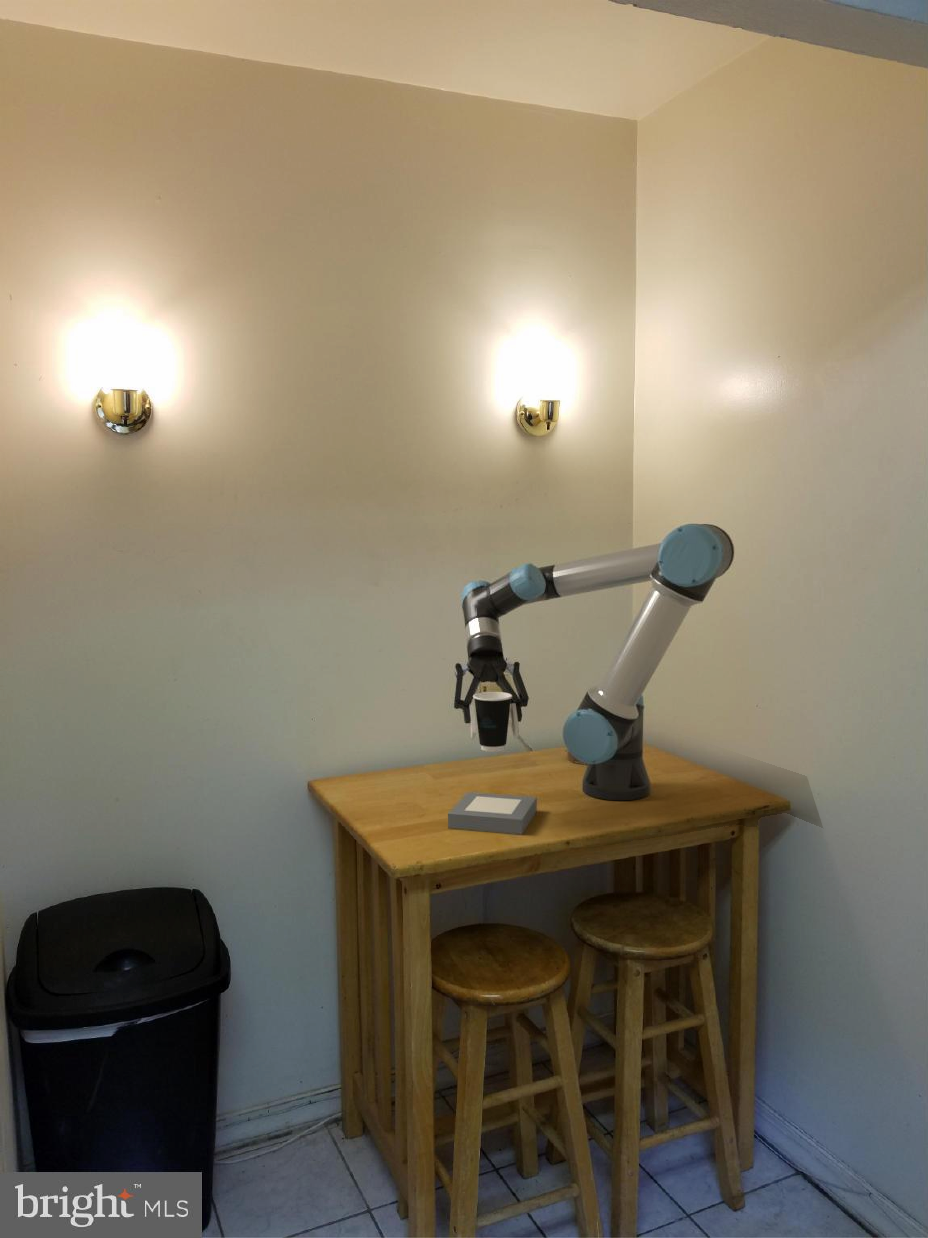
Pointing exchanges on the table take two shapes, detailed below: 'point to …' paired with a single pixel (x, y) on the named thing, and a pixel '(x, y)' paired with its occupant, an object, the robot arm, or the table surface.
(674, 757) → the table surface
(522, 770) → the table surface
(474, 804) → the plinth
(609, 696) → the robot arm
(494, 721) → the dixie cup
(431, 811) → the table surface
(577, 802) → the table surface
